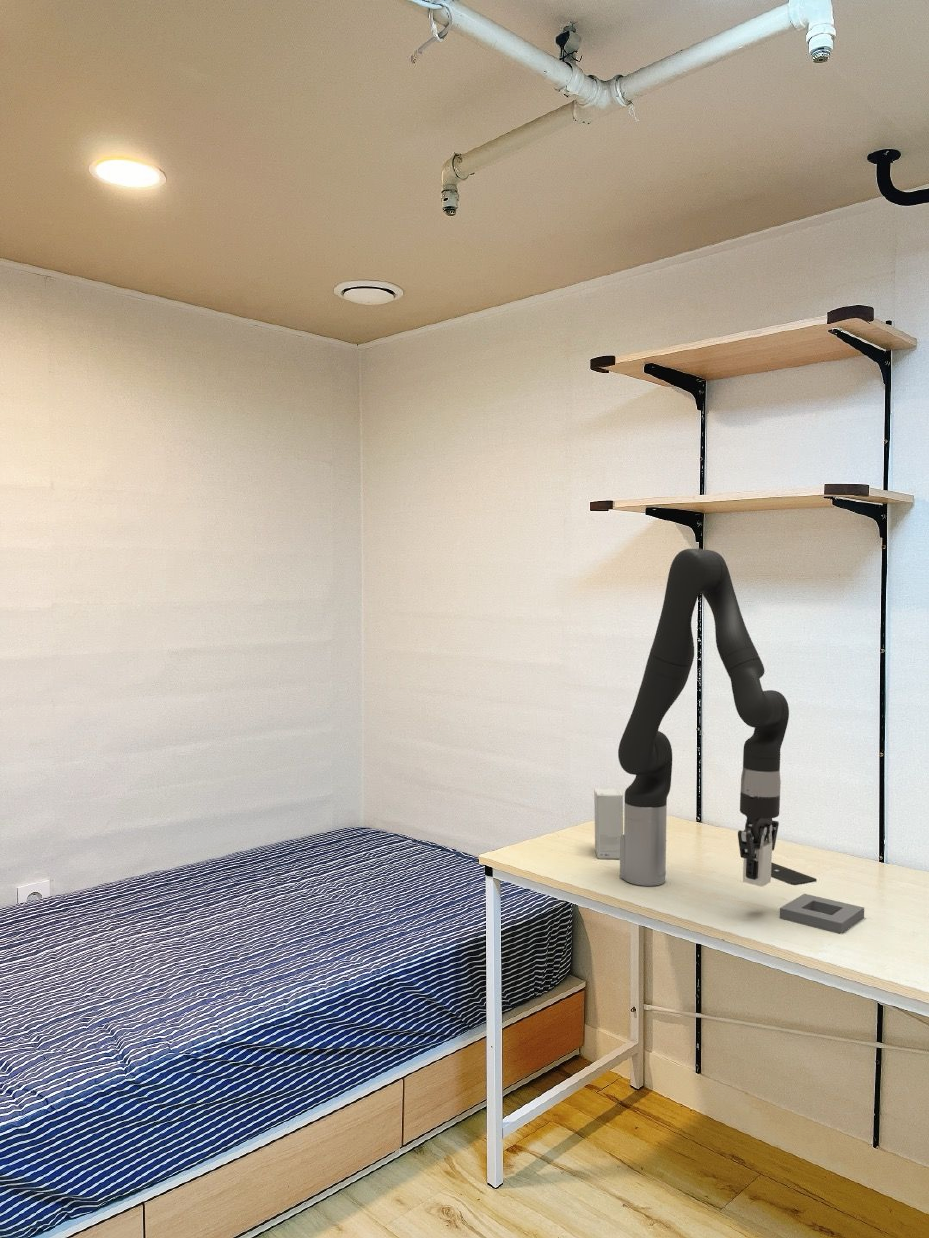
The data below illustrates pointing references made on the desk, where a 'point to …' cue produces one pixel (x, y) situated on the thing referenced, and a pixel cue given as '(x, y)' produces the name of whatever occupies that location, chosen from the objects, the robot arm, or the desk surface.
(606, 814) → the skincare box
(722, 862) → the desk surface
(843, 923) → the socket plate
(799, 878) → the smartphone
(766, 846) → the charger
